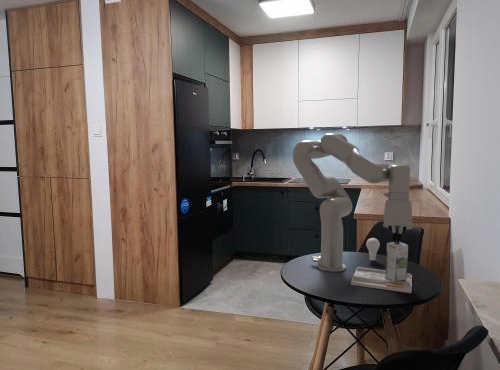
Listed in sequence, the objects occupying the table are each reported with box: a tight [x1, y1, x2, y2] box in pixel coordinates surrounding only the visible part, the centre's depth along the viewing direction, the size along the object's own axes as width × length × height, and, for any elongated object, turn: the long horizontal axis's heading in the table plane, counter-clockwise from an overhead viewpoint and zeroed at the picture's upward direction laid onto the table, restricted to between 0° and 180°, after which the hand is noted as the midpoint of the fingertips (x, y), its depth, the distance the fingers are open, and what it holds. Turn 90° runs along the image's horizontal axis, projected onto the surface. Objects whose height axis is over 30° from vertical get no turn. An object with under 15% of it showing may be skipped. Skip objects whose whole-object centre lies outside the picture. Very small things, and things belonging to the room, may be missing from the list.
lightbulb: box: [365, 237, 381, 262], centre depth 178 cm, size 6×6×11 cm
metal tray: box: [352, 266, 411, 287], centre depth 151 cm, size 21×13×1 cm, turn 67°
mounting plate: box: [350, 268, 413, 294], centre depth 151 cm, size 22×18×2 cm
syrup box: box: [385, 241, 409, 281], centre depth 148 cm, size 6×6×14 cm
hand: (396, 242), depth 147 cm, fingers closed
